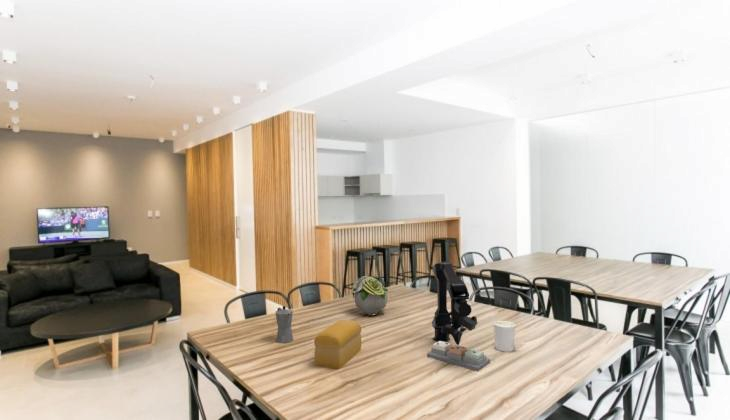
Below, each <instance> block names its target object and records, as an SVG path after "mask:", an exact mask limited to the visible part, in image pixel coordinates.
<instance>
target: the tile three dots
mask: <svg viewBox="0 0 730 420" xmlns="http://www.w3.org/2000/svg"><path fill="white" fill-rule="evenodd" d="M466 351H468V347H467V346H463V345H460V344H459V345H457V344H453V345H451V347H450V348H449V353H453V354H456V355H460V356H461V355H463V354H465V352H466Z"/></svg>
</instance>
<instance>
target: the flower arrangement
mask: <svg viewBox="0 0 730 420" xmlns="http://www.w3.org/2000/svg"><path fill="white" fill-rule="evenodd" d="M350 293H352V299H353V300H354V304H355V306H356V308H357V309H359V310H360V311H362V312H363V313H364V315H366V314H368V315H367V316H374V315H373V314H376V315H378V314H377V313H379V311H382V310H384V309H385V308H386V306H387V302H388V293H389V290H388V289H387V288H386V282H385V280H384V279H383V278H381V277H378V276H377V275H376V276H373V275H364V276H361V277H360V278H359V277H358V278H357V280H356V282H355V283H353V286H352V288H351V290H350Z"/></svg>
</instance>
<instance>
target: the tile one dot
mask: <svg viewBox="0 0 730 420" xmlns="http://www.w3.org/2000/svg"><path fill="white" fill-rule="evenodd" d="M484 355H485V352H484V351H482V350H478V349H474V348H470V349H467V351H466V352H465V357H468V358H471V359H475V360H479V359H481V358H482V357H484Z"/></svg>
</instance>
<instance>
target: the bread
mask: <svg viewBox="0 0 730 420" xmlns="http://www.w3.org/2000/svg"><path fill="white" fill-rule="evenodd" d="M361 333H362V326H361V324H360V323H358V322H357V321H355V320H351V319H341V320H338V321H336V322H335V323H333V324H331V325H329V326H328V327H326V328H325V329H324V330H322V331H320V332H318V334H317V335H316V336H315V337H314V341H313V343H314V347H315V348H314V363H315V365H316V366H318V367H325V368H330V369H337V370H339V369H341V368H343V367H344V366H345V365H346V364H348V362H349V361H351V360H352V359H353V358H354V357H355V356H356V355H357V354H359V352H361V349H362V335H361Z"/></svg>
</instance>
